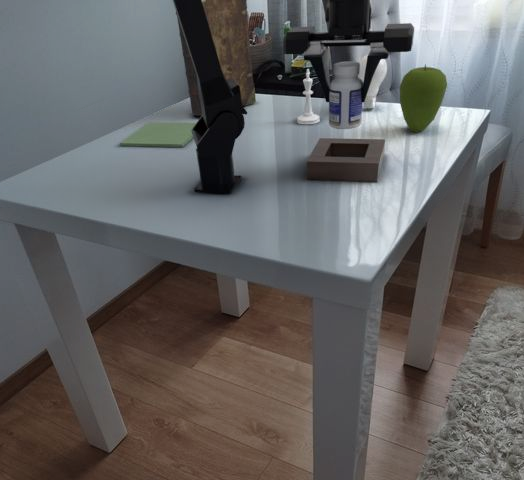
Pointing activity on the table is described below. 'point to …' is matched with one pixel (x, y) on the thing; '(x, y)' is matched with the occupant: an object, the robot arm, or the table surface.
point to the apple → (422, 96)
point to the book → (224, 48)
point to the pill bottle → (345, 96)
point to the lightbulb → (375, 83)
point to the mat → (161, 135)
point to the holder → (346, 159)
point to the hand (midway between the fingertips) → (345, 101)
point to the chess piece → (308, 104)
